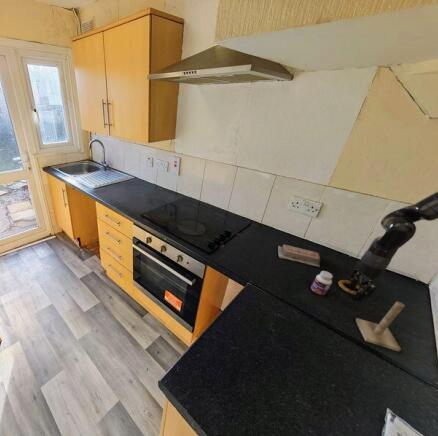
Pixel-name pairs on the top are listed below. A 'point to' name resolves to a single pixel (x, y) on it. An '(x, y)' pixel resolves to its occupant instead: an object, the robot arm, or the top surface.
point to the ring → (341, 284)
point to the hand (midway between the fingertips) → (353, 293)
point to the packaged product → (299, 255)
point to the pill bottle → (322, 283)
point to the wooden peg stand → (381, 329)
